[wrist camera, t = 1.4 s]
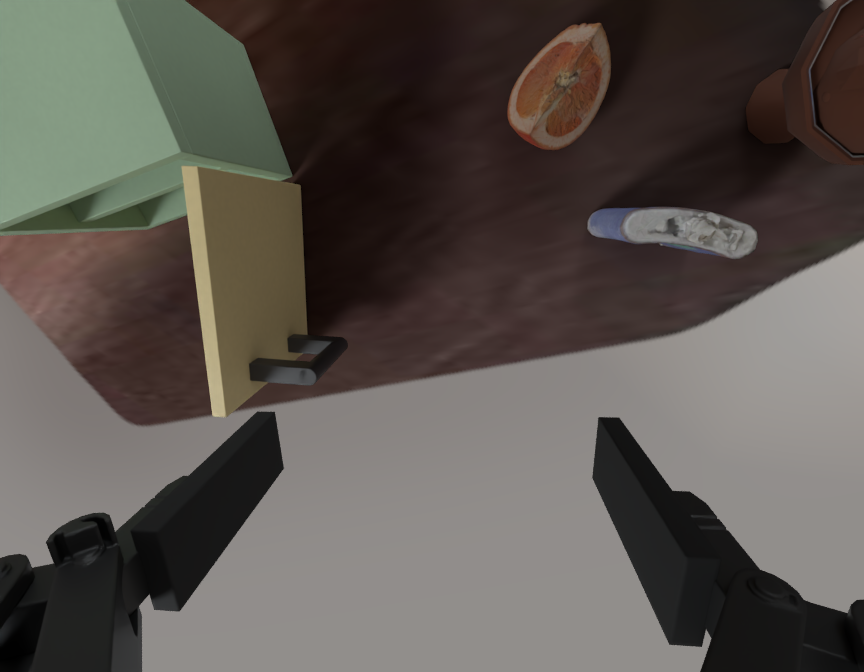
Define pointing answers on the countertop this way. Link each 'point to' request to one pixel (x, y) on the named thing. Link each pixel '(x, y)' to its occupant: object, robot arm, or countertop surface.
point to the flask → (676, 229)
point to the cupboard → (120, 113)
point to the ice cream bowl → (818, 90)
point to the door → (251, 285)
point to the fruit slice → (562, 88)
